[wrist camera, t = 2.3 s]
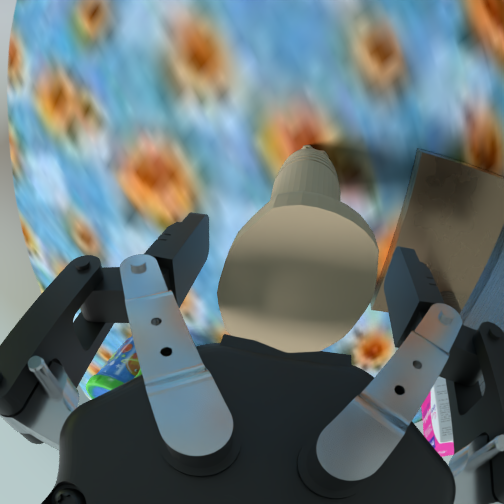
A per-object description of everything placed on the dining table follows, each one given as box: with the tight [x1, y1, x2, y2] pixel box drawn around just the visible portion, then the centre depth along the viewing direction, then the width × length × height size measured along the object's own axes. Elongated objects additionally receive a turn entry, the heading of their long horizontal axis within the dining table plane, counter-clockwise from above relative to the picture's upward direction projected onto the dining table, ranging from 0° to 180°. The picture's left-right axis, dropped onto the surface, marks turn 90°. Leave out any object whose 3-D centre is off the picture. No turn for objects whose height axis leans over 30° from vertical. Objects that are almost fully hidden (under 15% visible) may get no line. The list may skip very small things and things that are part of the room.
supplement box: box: [421, 377, 454, 457], centre depth 27 cm, size 6×6×12 cm
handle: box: [217, 145, 379, 353], centre depth 16 cm, size 5×6×15 cm
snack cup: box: [86, 337, 142, 399], centre depth 36 cm, size 16×10×10 cm
